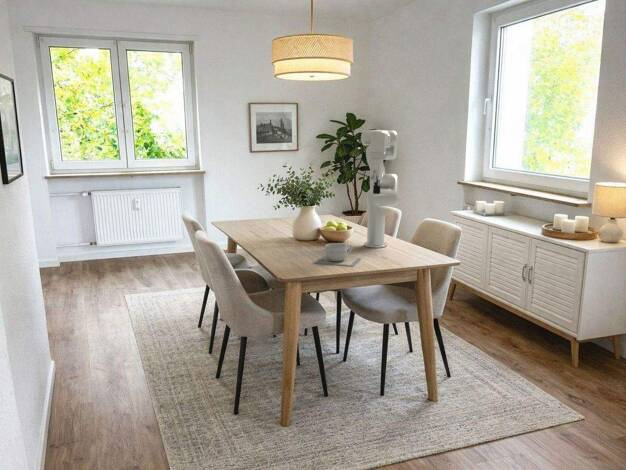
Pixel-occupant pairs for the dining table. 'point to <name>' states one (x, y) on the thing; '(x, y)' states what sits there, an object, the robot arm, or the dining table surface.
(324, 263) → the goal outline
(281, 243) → the dining table surface
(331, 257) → the teacup
